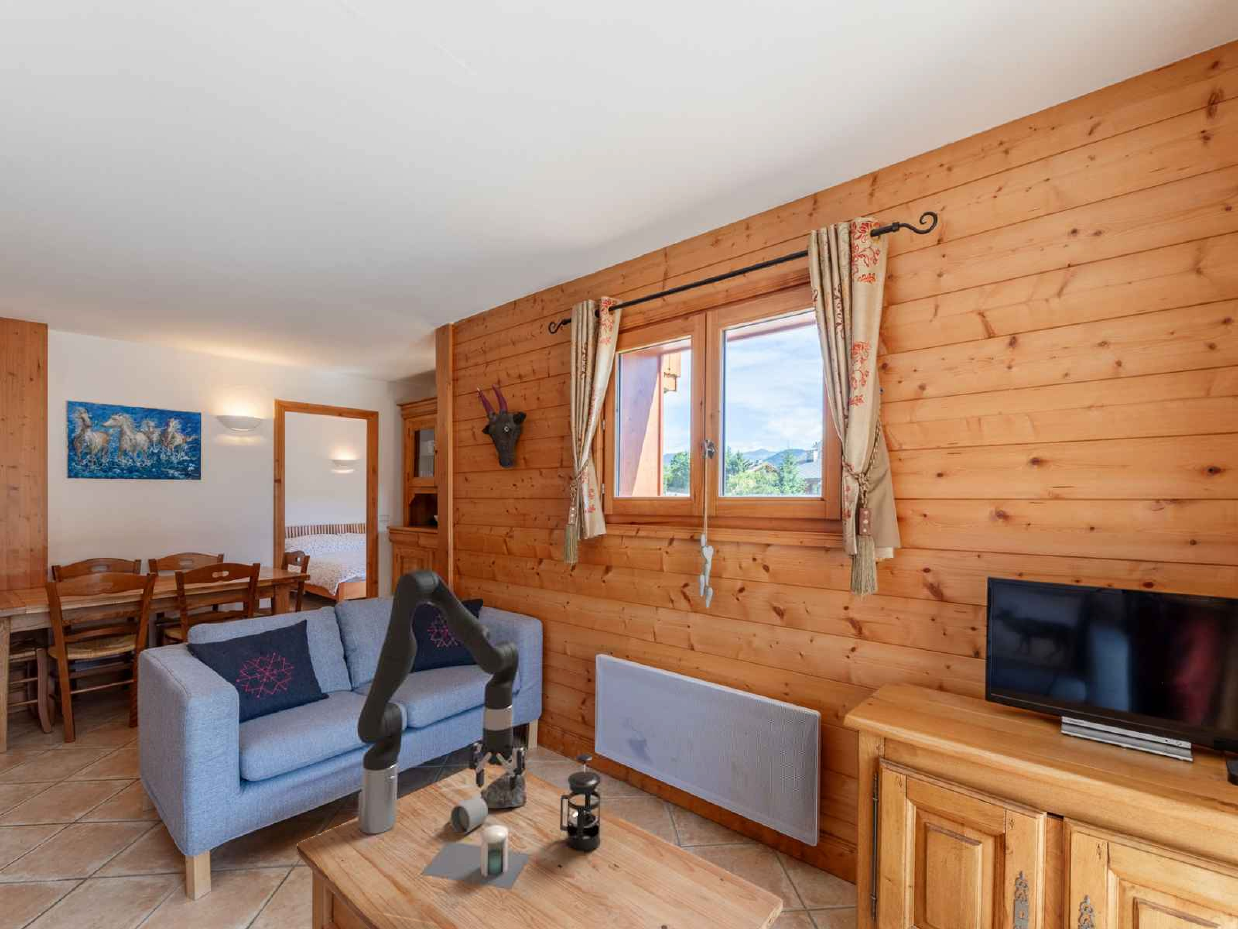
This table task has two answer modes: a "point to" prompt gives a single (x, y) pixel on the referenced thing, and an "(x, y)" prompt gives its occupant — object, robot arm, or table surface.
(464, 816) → the ceramic mug
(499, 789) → the mineral rock
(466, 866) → the mat
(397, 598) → the robot arm
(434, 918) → the table surface
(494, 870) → the teal egg-shaped capsule
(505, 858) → the cover cup
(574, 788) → the french press
